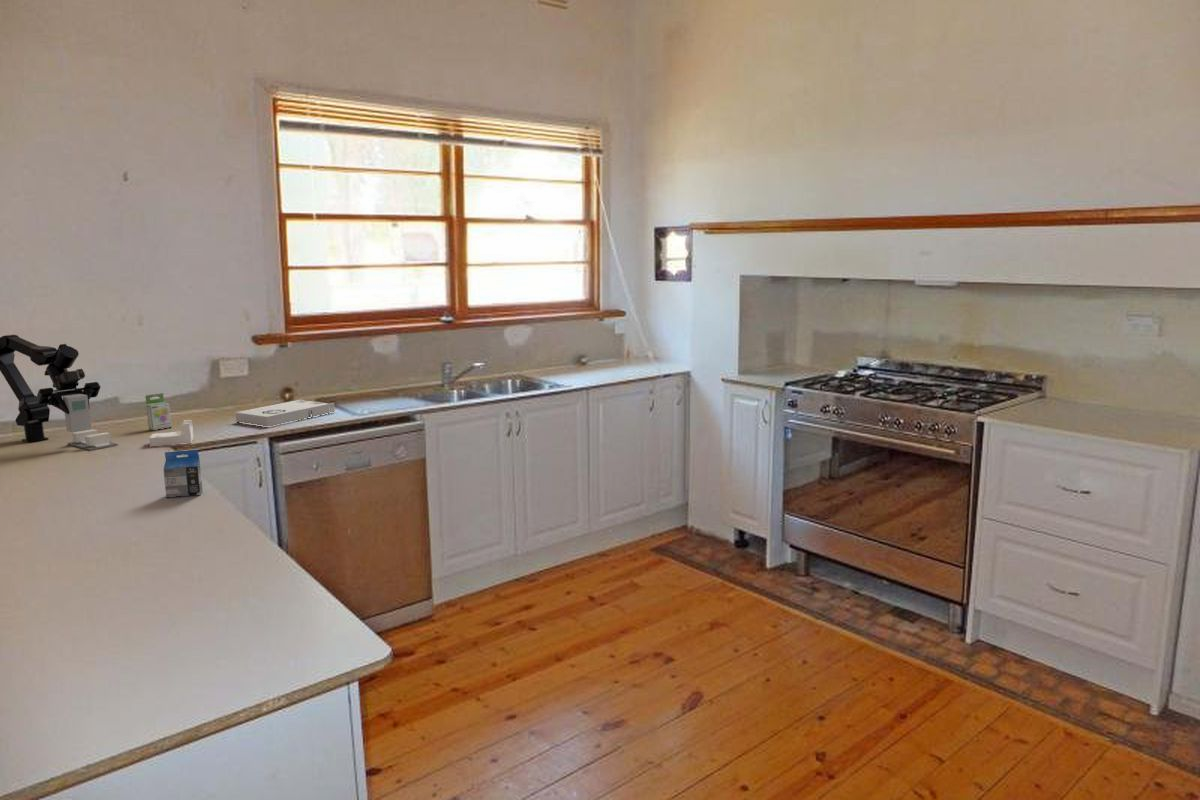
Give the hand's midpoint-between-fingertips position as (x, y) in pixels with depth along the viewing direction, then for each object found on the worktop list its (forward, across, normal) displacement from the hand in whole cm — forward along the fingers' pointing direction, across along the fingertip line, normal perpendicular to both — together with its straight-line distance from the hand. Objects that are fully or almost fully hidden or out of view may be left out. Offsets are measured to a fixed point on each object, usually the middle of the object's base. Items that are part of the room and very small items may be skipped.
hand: (78, 411), depth 287 cm
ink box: (+3, +31, +16) cm, 35 cm away
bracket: (+22, +22, -3) cm, 31 cm away
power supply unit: (+19, +71, +1) cm, 73 cm away
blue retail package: (+69, -9, -50) cm, 86 cm away
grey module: (+4, 0, +6) cm, 7 cm away
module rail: (+7, +4, +11) cm, 14 cm away
